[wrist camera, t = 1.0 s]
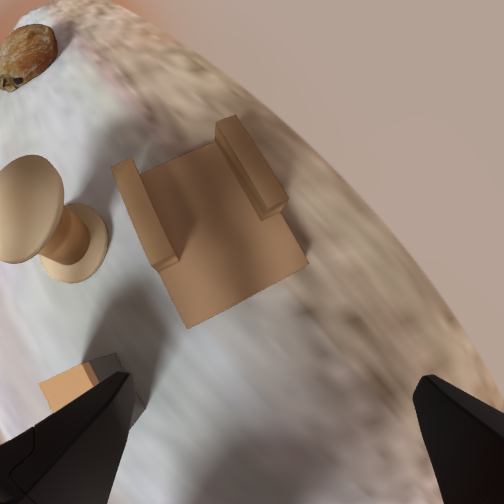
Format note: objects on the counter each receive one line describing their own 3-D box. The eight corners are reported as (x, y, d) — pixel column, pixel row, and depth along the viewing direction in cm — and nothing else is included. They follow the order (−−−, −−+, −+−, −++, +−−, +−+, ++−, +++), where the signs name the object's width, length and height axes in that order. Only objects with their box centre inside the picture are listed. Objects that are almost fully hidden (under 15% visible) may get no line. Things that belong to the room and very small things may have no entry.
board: (189, 328, 20) (183, 330, 15) (127, 195, 21) (110, 167, 17) (300, 268, 22) (322, 255, 17) (231, 148, 23) (235, 114, 19)
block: (108, 423, 17) (77, 453, 11) (78, 370, 18) (38, 383, 12) (145, 408, 18) (123, 437, 12) (115, 353, 19) (81, 363, 13)
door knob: (56, 296, 19) (-13, 280, 11) (36, 228, 20) (-24, 189, 11) (119, 261, 20) (69, 225, 12) (94, 194, 21) (49, 136, 13)
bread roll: (5, 110, 25) (-26, 97, 18) (7, 51, 23) (-17, 32, 15) (65, 82, 27) (41, 60, 19) (65, 24, 25) (47, -4, 17)
